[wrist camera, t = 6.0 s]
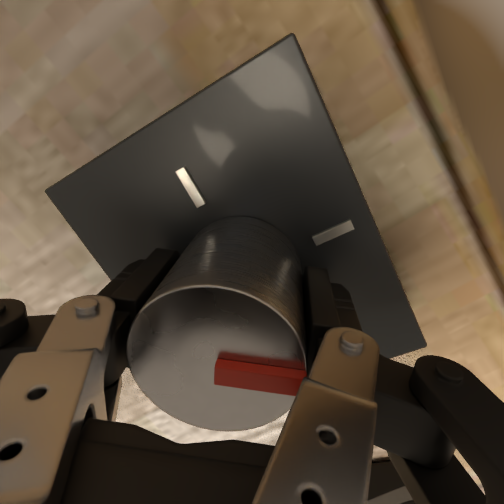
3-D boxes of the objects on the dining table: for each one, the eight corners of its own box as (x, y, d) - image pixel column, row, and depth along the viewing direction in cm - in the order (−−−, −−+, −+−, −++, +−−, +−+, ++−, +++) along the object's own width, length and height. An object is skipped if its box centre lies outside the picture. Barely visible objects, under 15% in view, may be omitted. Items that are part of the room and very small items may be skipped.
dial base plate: (88, 175, 15) (39, 191, 12) (292, 47, 12) (293, 29, 9) (223, 370, 19) (210, 419, 16) (404, 305, 16) (430, 350, 13)
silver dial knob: (184, 314, 14) (126, 428, 9) (184, 209, 12) (111, 280, 7) (293, 328, 13) (294, 454, 9) (309, 223, 12) (323, 306, 7)
